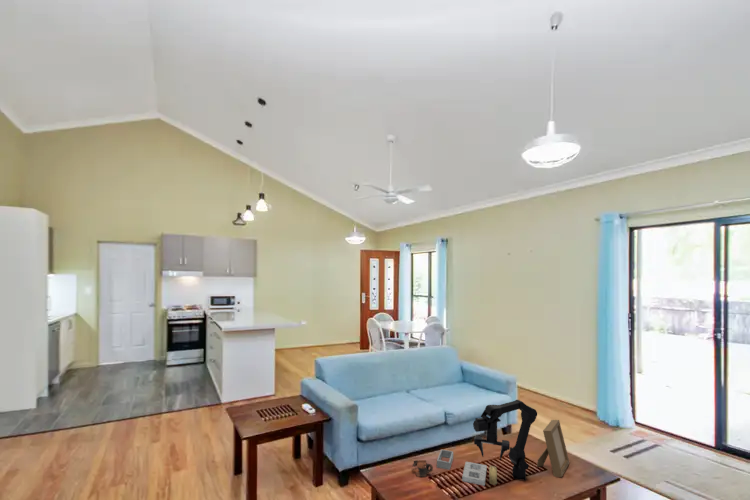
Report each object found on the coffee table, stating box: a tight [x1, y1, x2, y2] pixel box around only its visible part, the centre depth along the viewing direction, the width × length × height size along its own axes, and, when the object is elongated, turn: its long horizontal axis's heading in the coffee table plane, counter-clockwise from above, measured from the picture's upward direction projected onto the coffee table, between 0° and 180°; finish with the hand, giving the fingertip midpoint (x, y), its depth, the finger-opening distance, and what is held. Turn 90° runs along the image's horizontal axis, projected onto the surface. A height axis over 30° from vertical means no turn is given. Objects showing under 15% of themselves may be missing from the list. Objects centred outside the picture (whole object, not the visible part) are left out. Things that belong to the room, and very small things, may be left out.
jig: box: [461, 461, 488, 487], centre depth 217 cm, size 12×18×2 cm, turn 161°
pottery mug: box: [412, 459, 434, 478], centre depth 218 cm, size 12×10×8 cm
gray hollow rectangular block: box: [436, 449, 454, 471], centre depth 230 cm, size 8×15×4 cm, turn 161°
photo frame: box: [536, 419, 570, 478], centre depth 230 cm, size 15×22×25 cm
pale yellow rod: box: [488, 465, 498, 486], centre depth 210 cm, size 4×4×8 cm
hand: (491, 458), depth 212 cm, fingers open, 9 cm apart
